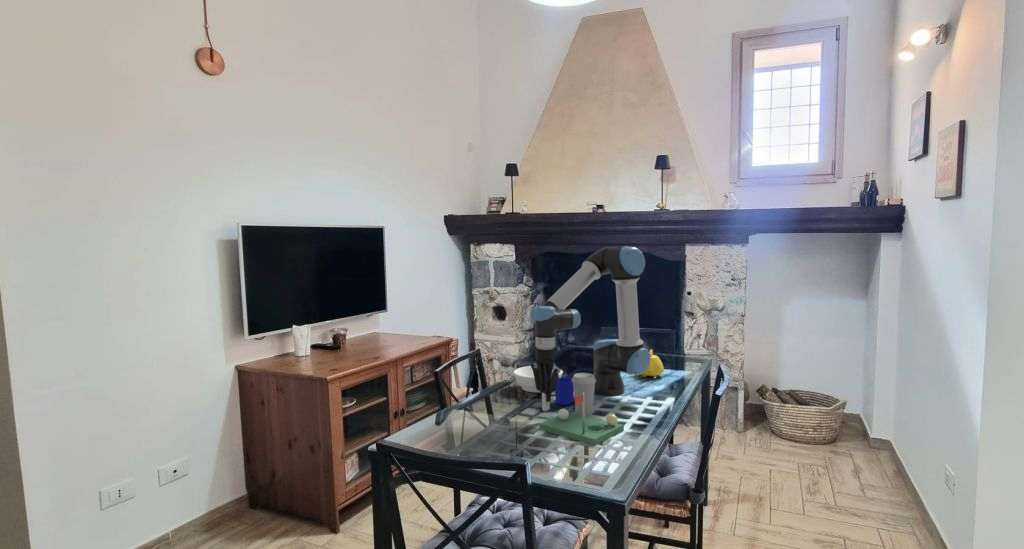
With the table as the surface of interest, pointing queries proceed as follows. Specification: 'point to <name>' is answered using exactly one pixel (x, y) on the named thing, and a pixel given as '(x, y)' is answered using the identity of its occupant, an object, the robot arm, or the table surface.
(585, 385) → the coffee cup
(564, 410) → the white ball
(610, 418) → the yellow ball
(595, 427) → the putting mat
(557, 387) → the mug
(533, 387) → the bowl
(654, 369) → the teapot
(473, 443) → the table surface
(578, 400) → the flag pin
